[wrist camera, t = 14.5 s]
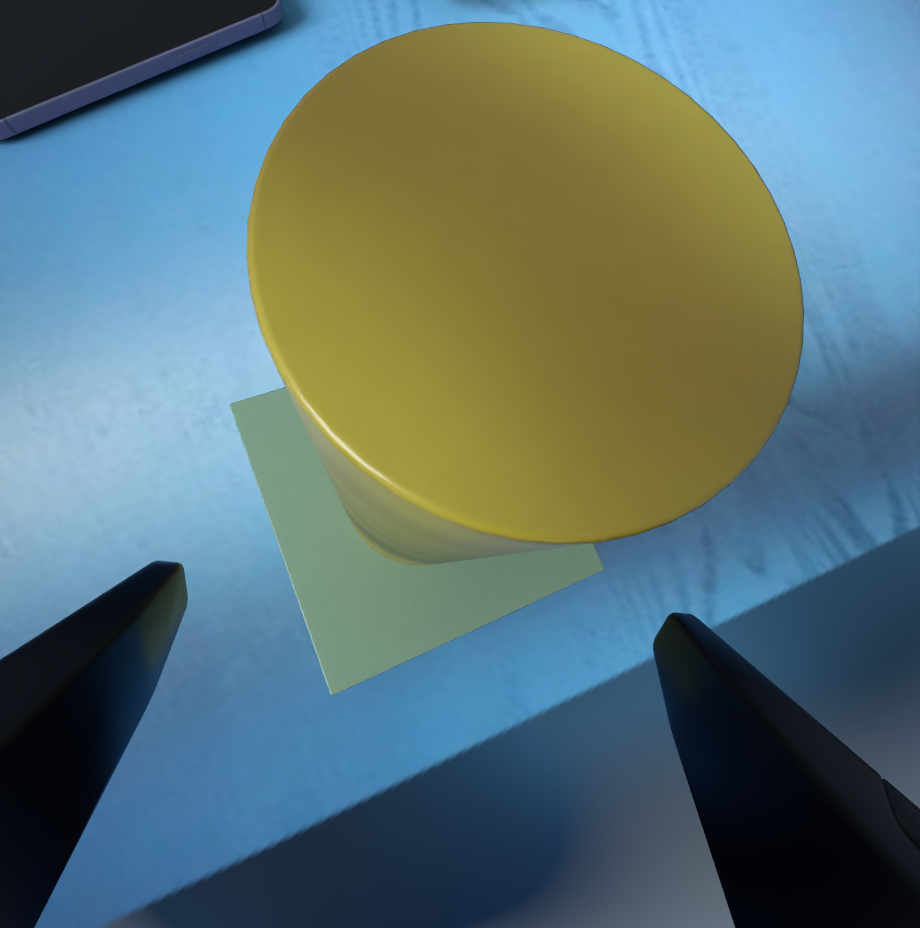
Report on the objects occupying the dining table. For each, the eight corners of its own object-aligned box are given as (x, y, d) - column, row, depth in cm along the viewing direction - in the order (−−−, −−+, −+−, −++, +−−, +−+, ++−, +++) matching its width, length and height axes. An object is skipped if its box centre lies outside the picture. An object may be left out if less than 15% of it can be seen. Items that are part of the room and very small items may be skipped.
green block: (555, 569, 22) (605, 569, 17) (341, 666, 20) (330, 696, 15) (471, 373, 24) (496, 321, 19) (262, 441, 21) (228, 403, 16)
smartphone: (-130, 4, 21) (200, -106, 25) (-104, 32, 23) (208, -77, 27) (-33, 136, 21) (290, 3, 25) (-11, 158, 22) (294, 28, 26)
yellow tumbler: (460, 590, 16) (736, 648, 4) (316, 527, 16) (108, 368, 4) (515, 453, 18) (852, 169, 5) (383, 392, 17) (405, -67, 5)
